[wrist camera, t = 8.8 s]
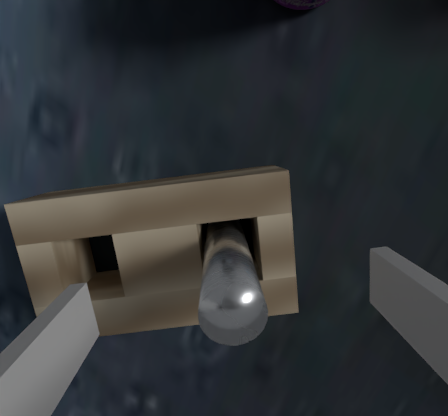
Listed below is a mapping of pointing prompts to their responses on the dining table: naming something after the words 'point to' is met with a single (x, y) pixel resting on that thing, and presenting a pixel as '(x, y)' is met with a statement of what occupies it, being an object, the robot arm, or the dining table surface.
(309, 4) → the beverage can
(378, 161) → the dining table surface
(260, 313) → the pin
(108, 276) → the hole block
